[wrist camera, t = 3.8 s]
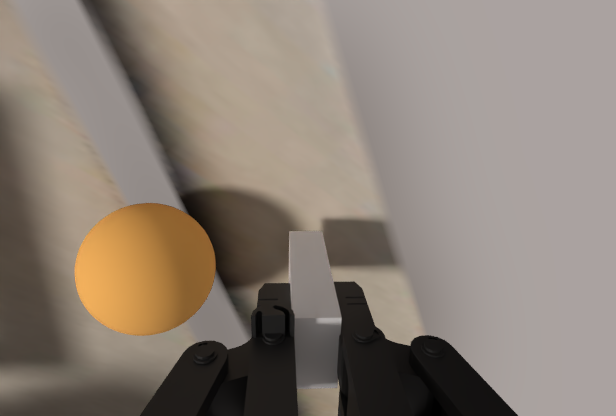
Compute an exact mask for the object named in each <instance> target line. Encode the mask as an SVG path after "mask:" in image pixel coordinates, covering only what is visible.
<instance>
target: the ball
mask: <svg viewBox="0 0 616 416" xmlns="http://www.w3.org/2000/svg"><path fill="white" fill-rule="evenodd" d="M215 271H216V261H215V254H214V250H213V246H212V244H211V241H210V239H209V237H208V235H207V234H206V232H205V230H204V229H203V228H202V227H201V225H200V224H199V223H198V222H197V221H196V220H194V219H193V218H192V217H191V216H189V215H188V214H186V213H184V212H183V211H181V210H179V209H176V208H174V207H171V206H167V205H163V204H157V203H144V204H135V205H130V206H127V207H124V208H121V209H119V210H116V211H114V212H112V213H111V214H109V215H108V216H106V217H105V218H103V219H102V220H100V221H99V222H98V223H97V224H96V225H95V226H94V227H93V228H92V229H91V231H90V232H89V233H88V234H87V236H86V237H85V239H84V241H83V243H82V245H81V247H80V249H79V252H78V254H77V258H76V264H75V283H76V288H77V291H78V294H79V297H80V299H81V301H82V303H83V305H84V306H85V308H86V309H87V310H88V311H89V313H90V314H91V315H92V316H93V317H94V318H95V319H96V320H98V321H99V322H100V323H102V324H103V325H105V326H106V327H108V328H110V329H112V330H115V331H118V332H121V333H125V334H129V335H140V336H144V335H153V334H158V333H162V332H166V331H169V330H171V329H173V328H175V327H177V326H179V325H181V324H182V323H184V322H186V321H187V320H188V319H189V318H190V317H192V316H193V315H194V314H195V313H196V312H197V311H198V310H199V309H200V307H201V306H202V305H203V303H204V302H205V300H206V299H207V297H208V295H209V293H210V291H211V288H212V285H213V282H214V277H215Z"/></svg>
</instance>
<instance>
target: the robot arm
mask: <svg viewBox="0 0 616 416" xmlns="http://www.w3.org/2000/svg"><path fill="white" fill-rule="evenodd" d="M251 326H252V338H251V339H250V340H249V341H248V342H247V343H245V344H243V345H242V346H239V347H236V348H232V349H229V350H227V348H226V347H225V346H224V345H223V344H222V343H219V342H216V341H202V342H198V343H196V344H194V345H192V346H190V347H189V348H188V349H187V350H186V351H185V352H184V353H183V354H182V356H181V357H180V359H179V360H178V361H177V363H176V364H175V366H174V367H173V369H172V370H171V372H170V373H169V374H168V376H167V377H166V379H165V380H164V382H163V383H162V385H161V386H160V387H159V389H158V390H157V392H156V393H155V395H154V396H153V398H152V399H151V400H150V402H149V403H148V405H147V406H146V408H145V409H144V411H143V412H142V413H141V415H140V416H298V405H297V389H312V388H337V385H338V380H339V386H340V392H339V407H338V416H518V415H517V414H516V413H515V412H514V411H513V410H512V409H511V408H510V407H509V406H508V405H507V404H506V403H505V402H504V401H503V399H502V398H501V397H500V396H499V395H498V394H497V393H496V392H495V391H494V390H493V389H492V388H491V387H490V386H489V385H488V384H487V382H486V381H484V379H483V378H482V377H481V376H480V375H479V374H478V373H477V372H476V371H475V370H474V369H473V368H472V367H471V366H470V365H469V363H468V362H466V360H465V359H464V358H463V357H462V356H461V355H460V354H459V353H458V352H457V351H456V350H455V349H454V348H453V347H452V346H451V345H450V344H449V343H448V342H446V341H445V340H443V339H440V338H438V337H434V336H429V335H427V336H419V337H416V338H414V340H413V341H412V342H411V346H408V345H403V344H398V343H395V342H392V341H390V340H387V339H386V338H385V335H384V334H383V332H382V331H381V330H380V329H378V328H377V327H376V326H375V325H374V322H373V319H372V316H371V313H370V310H369V307H368V305H367V301H366V298H365V296H364V293H363V290H362V288H361V287H360V286H359V285H358V284H356V283H355V282H333V277H332V273H331V268H330V264H329V260H328V255H327V251H326V247H325V242H324V238H323V233H322V231H289V283H265V284H264V285H263V286H262V288H261V289H260V290H259V293H258V303H257V308H256V309H255V310H254V311H253V313H252V315H251Z"/></svg>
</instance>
